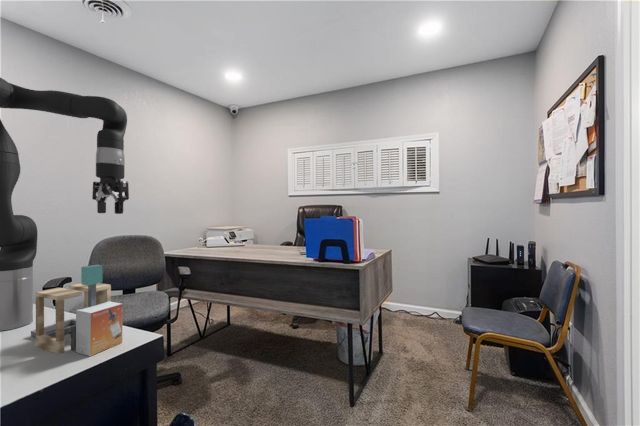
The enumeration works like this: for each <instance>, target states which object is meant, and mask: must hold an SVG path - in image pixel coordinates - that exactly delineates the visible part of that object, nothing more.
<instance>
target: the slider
mask: <svg viewBox="0 0 640 426" xmlns="http://www.w3.org/2000/svg"><path fill="white" fill-rule="evenodd" d="M80 273H81V274H80V276H81V277H80V280H81V281H80V283H81V285H87V286H88V307H92V306H95V305H96V284H97V283H103V265H102V264H92V265H85V266H81V268H80ZM71 351H72V352H76V325H73V326H71V333H70V352H71Z"/></svg>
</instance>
